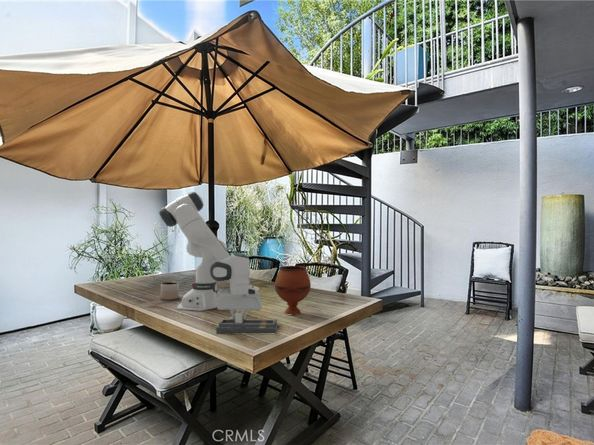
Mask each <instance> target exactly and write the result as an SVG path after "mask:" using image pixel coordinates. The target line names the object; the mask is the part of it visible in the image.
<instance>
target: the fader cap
mask: <svg viewBox="0 0 594 445" xmlns="http://www.w3.org/2000/svg"><path fill="white" fill-rule="evenodd" d="M234 314H235V323H243V320H242V316H243V315H244V310H235V312H234Z"/></svg>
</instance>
